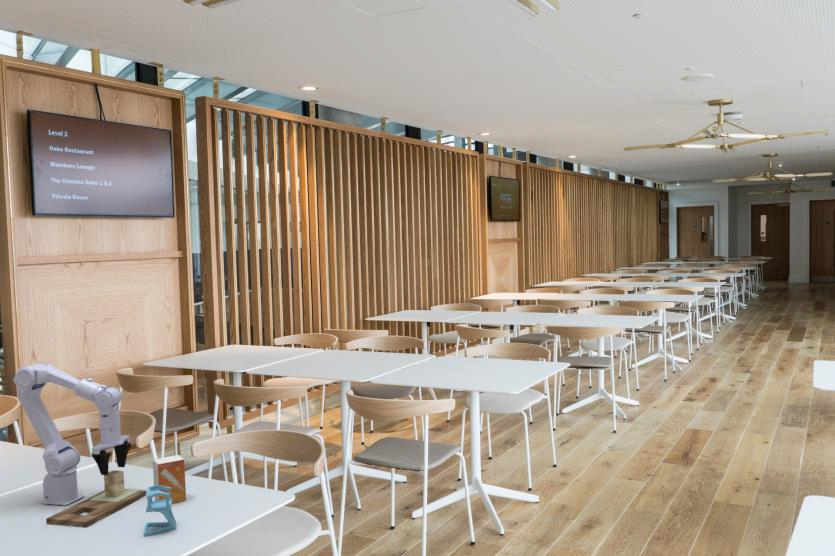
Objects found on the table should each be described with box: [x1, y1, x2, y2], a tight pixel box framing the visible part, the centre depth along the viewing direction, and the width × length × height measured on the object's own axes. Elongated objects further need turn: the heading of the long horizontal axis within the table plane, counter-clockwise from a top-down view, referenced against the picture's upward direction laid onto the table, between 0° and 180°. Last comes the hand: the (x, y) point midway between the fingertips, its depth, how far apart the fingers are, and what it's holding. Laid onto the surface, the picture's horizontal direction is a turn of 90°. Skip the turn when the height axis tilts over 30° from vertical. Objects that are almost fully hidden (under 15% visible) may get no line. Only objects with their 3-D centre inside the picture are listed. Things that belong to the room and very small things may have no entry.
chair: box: [143, 485, 177, 537], centre depth 198 cm, size 8×8×12 cm
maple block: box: [103, 469, 126, 498], centre depth 223 cm, size 4×4×7 cm
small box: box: [152, 454, 187, 504], centre depth 220 cm, size 8×6×13 cm
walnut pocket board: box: [45, 488, 146, 528], centre depth 216 cm, size 14×26×2 cm, turn 164°
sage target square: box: [90, 488, 140, 503], centre depth 223 cm, size 10×10×1 cm
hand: (113, 470), depth 222 cm, fingers open, 7 cm apart
